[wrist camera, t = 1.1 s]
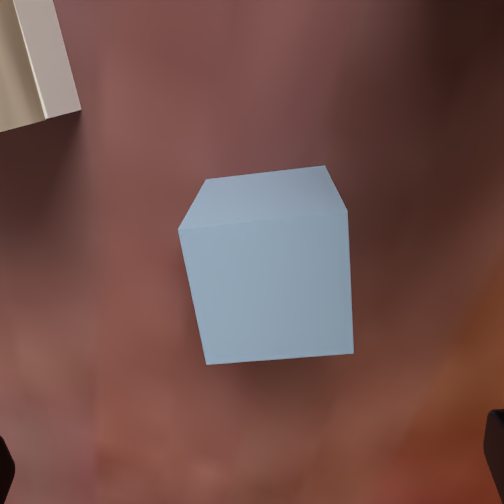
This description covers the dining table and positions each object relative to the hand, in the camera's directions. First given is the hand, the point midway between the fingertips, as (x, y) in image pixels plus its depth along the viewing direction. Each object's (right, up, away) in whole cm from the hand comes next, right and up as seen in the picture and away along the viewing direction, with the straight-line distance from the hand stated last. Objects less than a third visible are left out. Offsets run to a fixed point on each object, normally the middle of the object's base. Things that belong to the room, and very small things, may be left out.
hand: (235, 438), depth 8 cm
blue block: (+1, +4, +11) cm, 12 cm away
